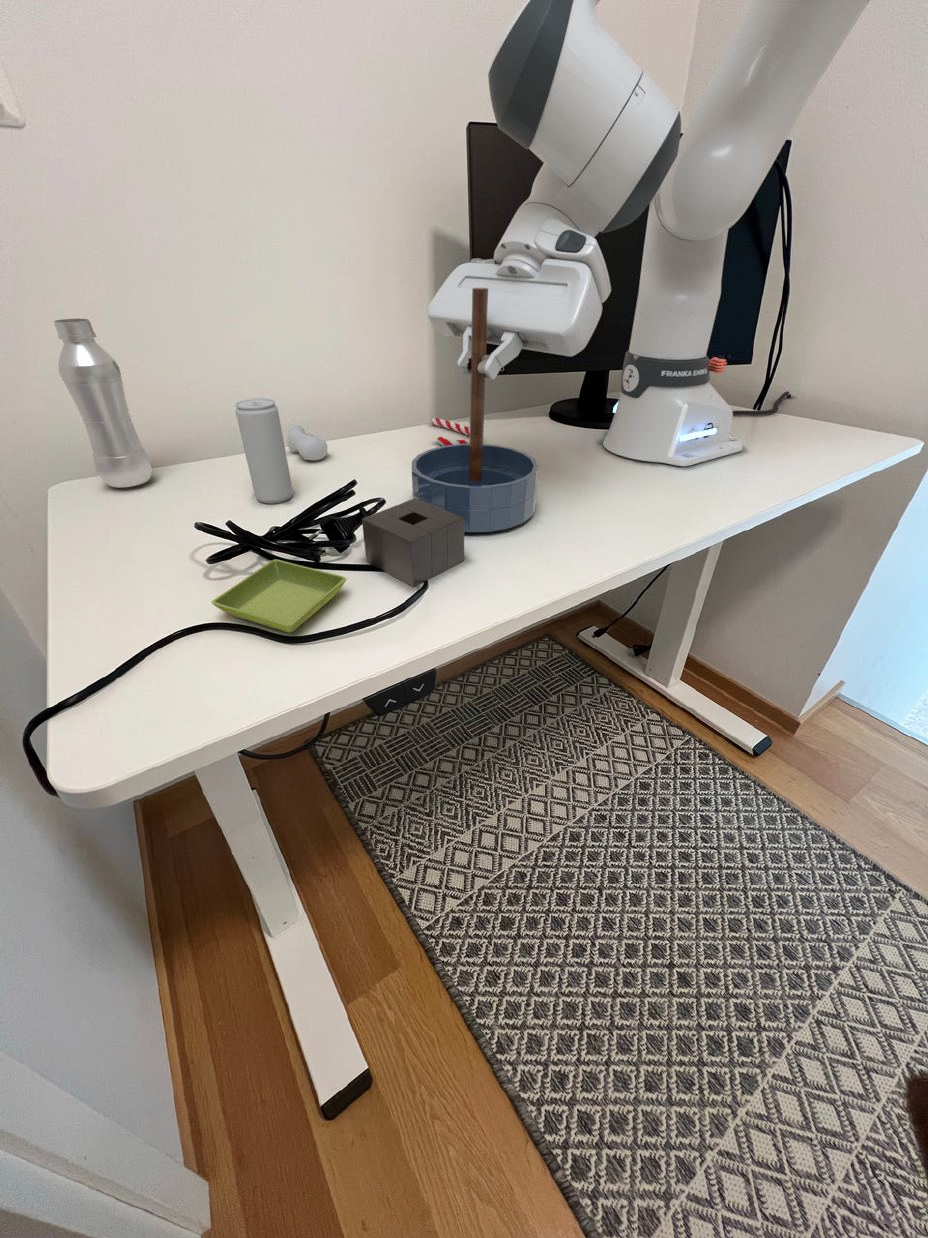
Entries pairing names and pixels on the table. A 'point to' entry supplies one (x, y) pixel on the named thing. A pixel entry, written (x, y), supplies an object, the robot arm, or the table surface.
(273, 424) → the beverage can
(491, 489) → the bowl
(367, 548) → the holder
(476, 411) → the stick
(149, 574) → the table surface
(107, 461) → the plastic bottle
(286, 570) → the saucer
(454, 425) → the candy cane
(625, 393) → the robot arm
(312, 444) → the smooth white sculpture
